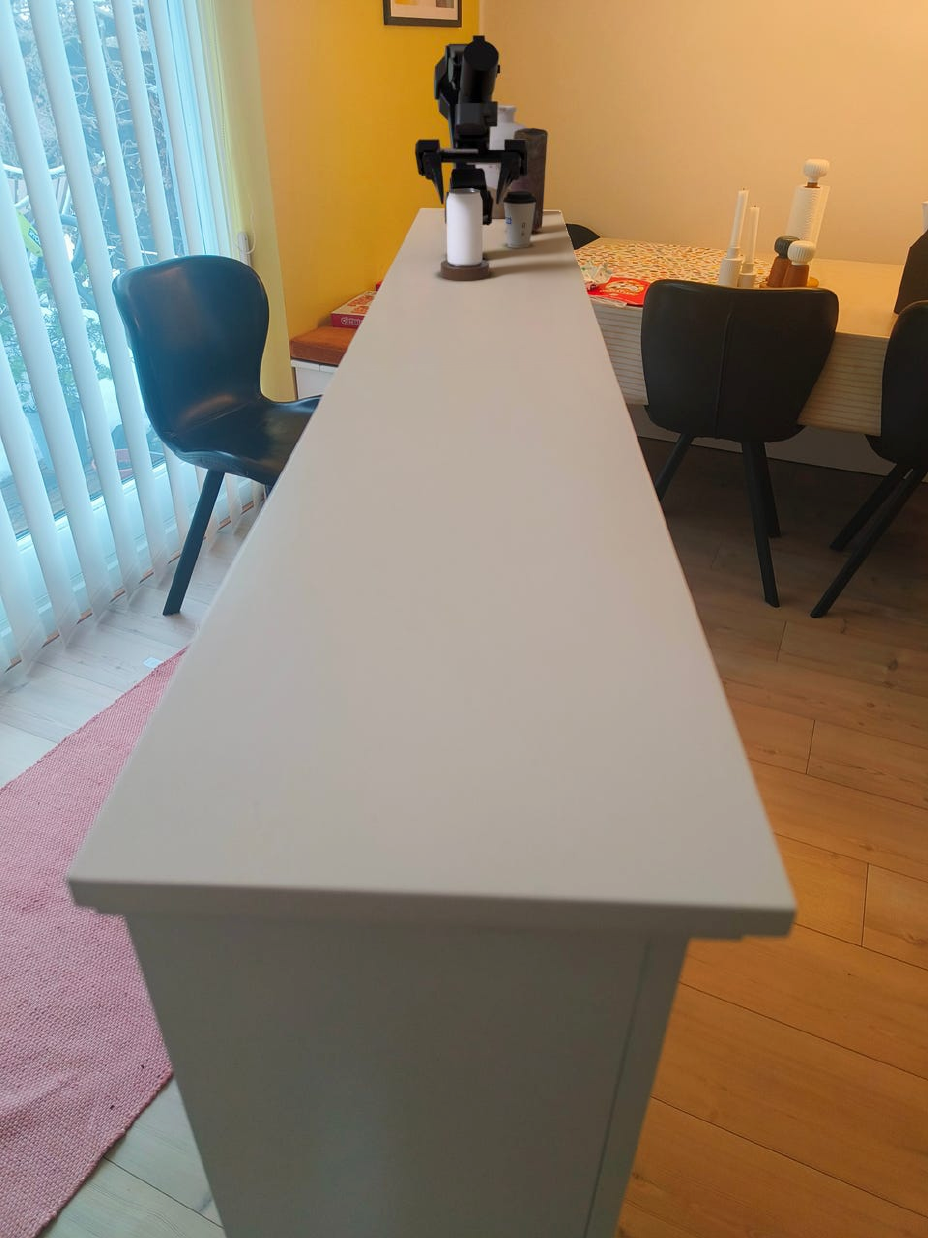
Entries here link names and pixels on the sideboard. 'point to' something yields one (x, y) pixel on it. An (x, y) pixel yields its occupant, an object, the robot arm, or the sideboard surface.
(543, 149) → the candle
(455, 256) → the can
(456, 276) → the coaster
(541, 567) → the sideboard surface
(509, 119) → the vase
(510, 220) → the coffee cup
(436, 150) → the robot arm
